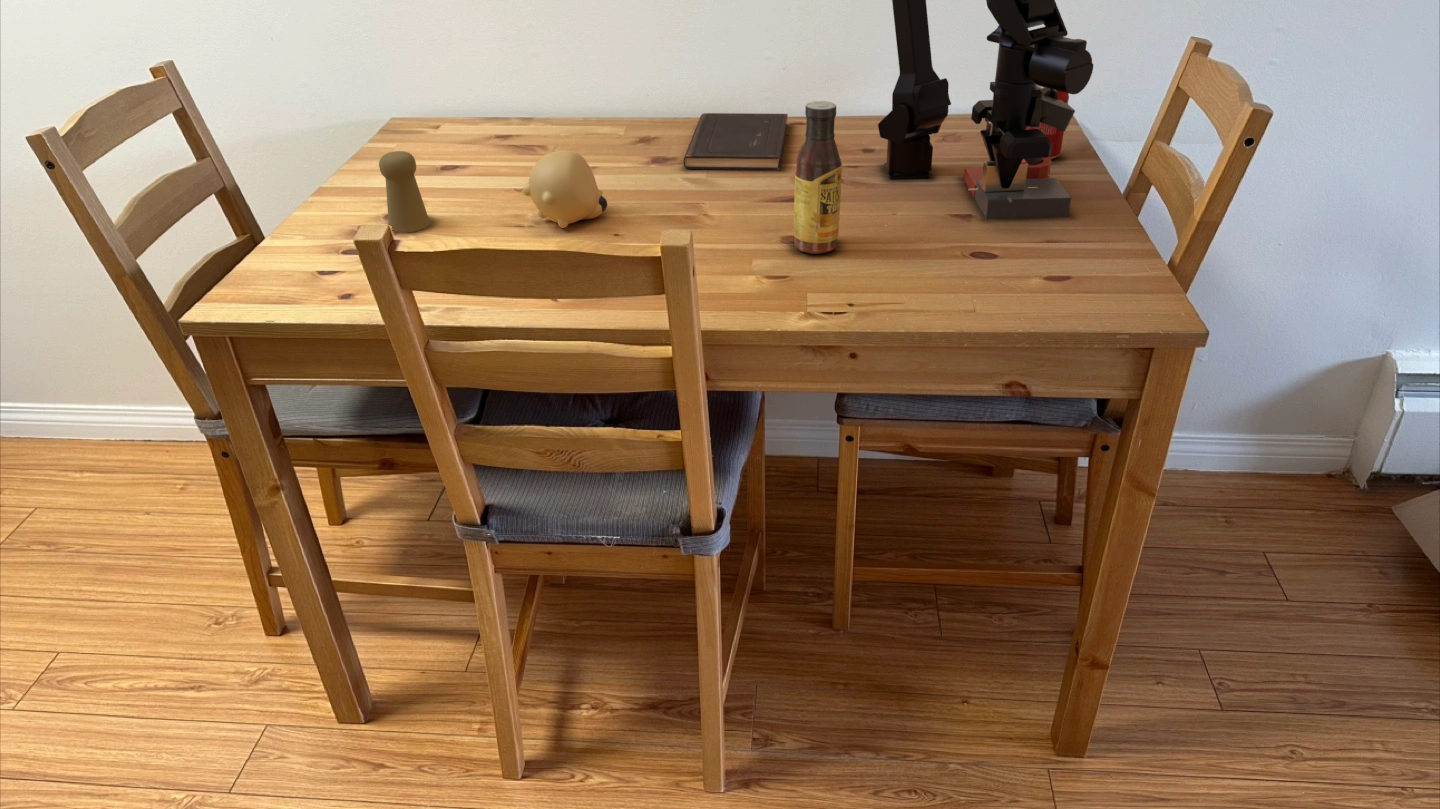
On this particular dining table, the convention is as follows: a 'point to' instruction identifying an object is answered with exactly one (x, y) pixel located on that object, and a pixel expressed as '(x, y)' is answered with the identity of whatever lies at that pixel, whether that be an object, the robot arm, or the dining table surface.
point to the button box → (1032, 173)
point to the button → (1033, 161)
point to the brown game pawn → (403, 193)
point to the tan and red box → (993, 182)
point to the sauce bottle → (818, 182)
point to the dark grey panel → (1025, 200)
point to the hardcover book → (737, 142)
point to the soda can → (1053, 129)
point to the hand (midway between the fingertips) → (1003, 185)
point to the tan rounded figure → (564, 188)
